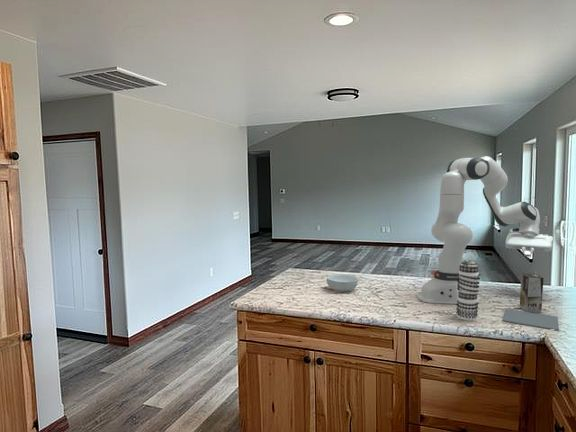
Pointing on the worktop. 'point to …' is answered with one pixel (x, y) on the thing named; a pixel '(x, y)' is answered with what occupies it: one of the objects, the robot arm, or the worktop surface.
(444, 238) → the robot arm
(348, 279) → the cereal bowl
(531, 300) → the coffee box
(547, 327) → the rubber mat
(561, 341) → the worktop surface
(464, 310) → the decorative candle
